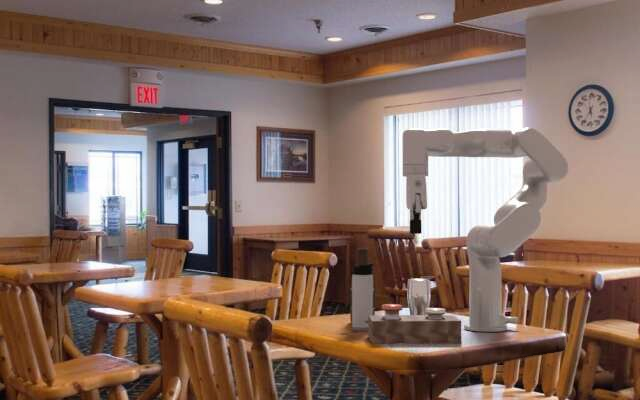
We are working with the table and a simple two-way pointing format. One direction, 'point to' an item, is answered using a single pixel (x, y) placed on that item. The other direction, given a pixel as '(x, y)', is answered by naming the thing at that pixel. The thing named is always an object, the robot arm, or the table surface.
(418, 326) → the socket board
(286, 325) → the table surface
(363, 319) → the travel mug
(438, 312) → the plug cream
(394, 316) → the plug terracotta
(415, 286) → the beer glass
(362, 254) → the beer bottle
